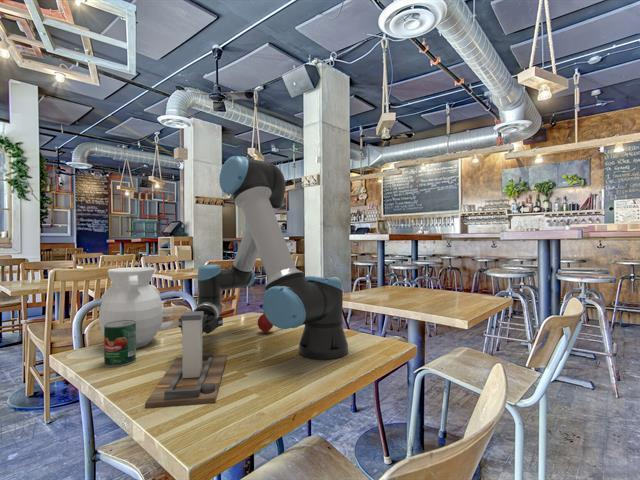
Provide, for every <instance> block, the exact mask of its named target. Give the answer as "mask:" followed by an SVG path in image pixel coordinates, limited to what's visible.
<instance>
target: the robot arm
mask: <svg viewBox="0 0 640 480" xmlns="http://www.w3.org/2000/svg"><path fill="white" fill-rule="evenodd" d="M218 181H219V187H220V189H221V191H222V192H223V193H225V194H226V195H231V196H232V199H233V202H234V204H235V206H237V207H238V208H241V209H242V211H243V215H244V217H245V220H246V223H247V224H246V225H247V226H246V228H245V230H244V233H243V236H242V239H241V241H240V243H239V245H238V249H237V252H236V255H235V257H234V261H233V262H232V265H231V267H230V268H221V266H220V264H202V265H201V264H200V266H198V269H197V278H196V279H197V293H198V294H197V306H196V308H194V310H193V311H204V316H203V318H202V335H203V334H206V335H208V334H210V333H212V332H214V331H215V330H216V329H218V328H219V327H222V326H223V325H224V323H223V322H224V321H223V320H224V318H223V316H220V315H221V313H222V310H223V309H222V303H221V302H222V301H221V298H222V297H221V295H222V293H221V292H222V291H228V290H233V289H234V290H236V289H244V288H248V287H251V286H252V285H253V284H254V283H255V280H256V278H255V277H256V274H255V271H254V267H255V265H256V262H257V259H258V256H259V260H260V262H261V264H262V267H263V269H264V270H263V271H264V272H265V275H266V278H267V282H266V283H265V285H264V289H265V293H264V295H263V296H262V300H263V302H262V310H263V312H264V313H265V316H266V317H267V319H268V320H269V322H270V323H271V324H273V327H276V328H278V329H281V330H288V329H296V328H299V327H301V326H304V329H303V331H302V334H301V337H300V340H299V343H298V353H299V354H300V355H301V356H303V357H304V358H305V357H306V358H307V359H314V360H333V359H340V358H342V356H343V357H345V356H347V354H349V344H348V340H347V337H346V334H345V330H344V328H343V294H344V290H343V281H342V280H341V279H340V278H336V277H324V276H314V275H313V276H312V275H310V276H309V275H305V273H304V271H302V270H300V269H298V268H297V267H296V265H295V262H294V260H293V257H292V254H291V252H290V250H289V247H288V244H287V242H286V239H285V236H284V234H283V232H282V229H281V226H280V223H279V222H278V218H277V216H276V212H277V211H278V210H280V209H281V208H282V205H283V203H284V200H285V196H286V189H287V188H286V179H285V175H284V174H283V172H282V171H281V168H279V167H278V166H277V165H276V164H273V163H271V162H269V161H268V162H267V161H263V160H259V159H254V158H250V157H246V156H243V155H242V156H240V155H233V156H230V157H228V158H227V159H226V161H224V163H223V164H222V166H221V169H220V173H219V179H218ZM264 313H263V314H264ZM178 328H179V329H180V331H181V333H182V321H181V317H179V318H178ZM344 355H345V356H344ZM339 357H340V358H339Z"/></svg>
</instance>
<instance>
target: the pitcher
mask: <svg viewBox="0 0 640 480" xmlns="http://www.w3.org/2000/svg"><path fill="white" fill-rule="evenodd" d="M154 270H155V267H153V266H151V267H150V266H141V267H138V266H136V267H135V266H133V267H131V266H129V267H115V268H109V269H108V270H106V272H107V275H108V277H109V279H110V281H111V283H112V285H110V286H109V287H108V289H105V291H104V294H103V295H101V298H100V300H101V304H100V308H99V315H98V324H99V328H100V331H101V333H102V335H103V336H104V325H105V324H106V323H109V322H113V321H120V320H134V321H136V349H138V348H139V349H140V348H143V347H145V346H147V345H148V344H149V343H150V342H152V340H153V339H154V338H155V337H156V336H157V333H159V331H160V329H161V326H162V323H163V318H164V309H163V302H162V299H161V296H160V295H161V292H160V290H158V288H157V287H156V286H155V285H154V284H150V281H151V280H152V277H153V274H154ZM142 346H143V347H142Z"/></svg>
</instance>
